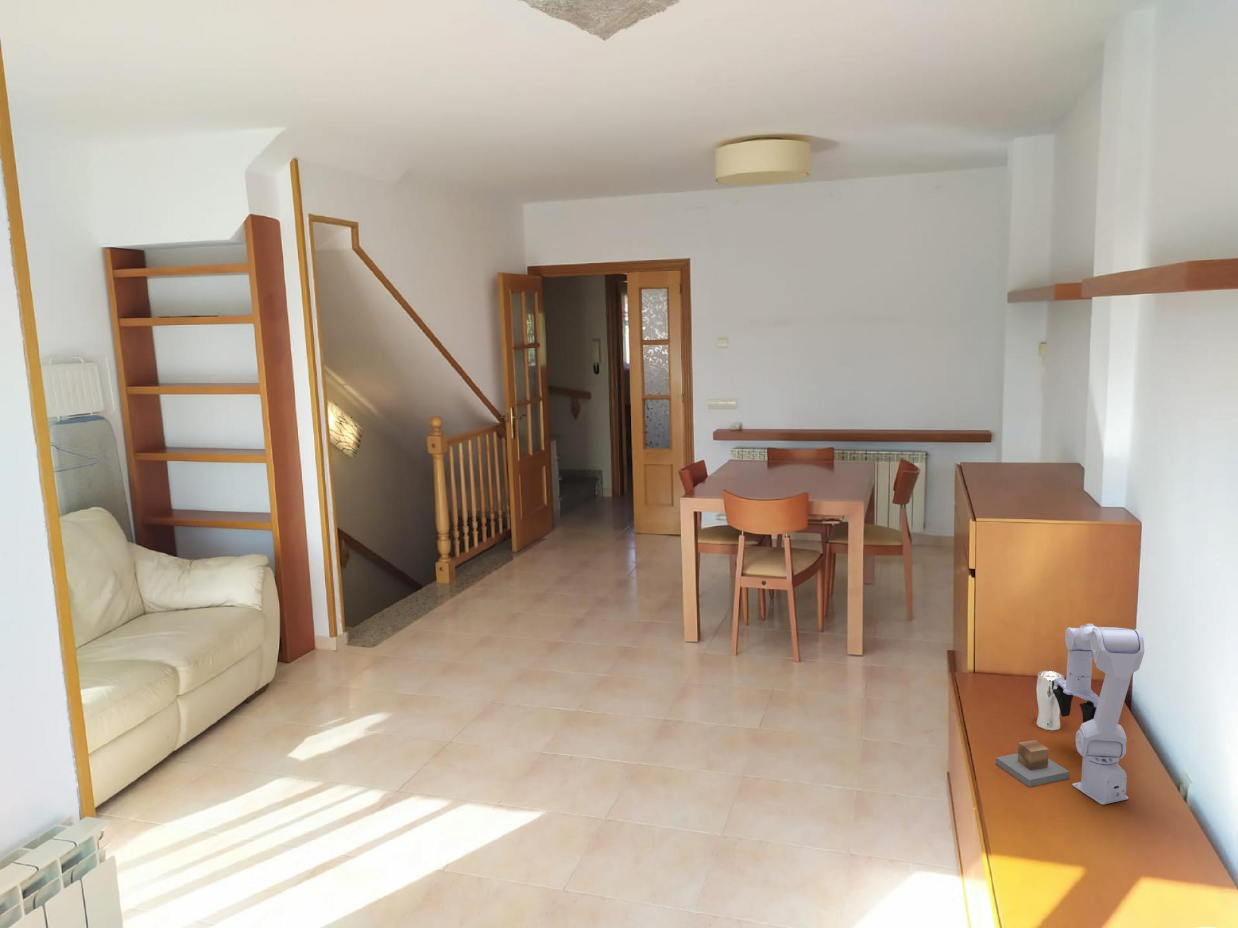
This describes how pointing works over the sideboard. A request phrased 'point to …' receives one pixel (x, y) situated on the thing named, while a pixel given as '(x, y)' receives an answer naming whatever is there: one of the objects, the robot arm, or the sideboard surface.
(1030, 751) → the walnut block
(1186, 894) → the sideboard surface
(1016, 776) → the gray slab
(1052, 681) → the beer glass
